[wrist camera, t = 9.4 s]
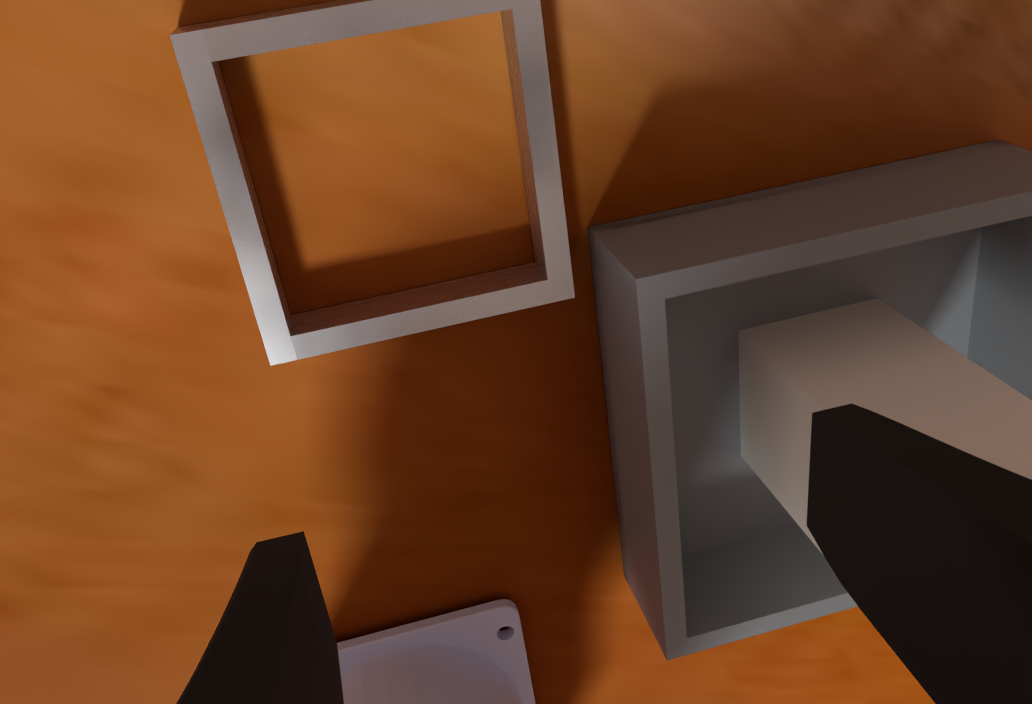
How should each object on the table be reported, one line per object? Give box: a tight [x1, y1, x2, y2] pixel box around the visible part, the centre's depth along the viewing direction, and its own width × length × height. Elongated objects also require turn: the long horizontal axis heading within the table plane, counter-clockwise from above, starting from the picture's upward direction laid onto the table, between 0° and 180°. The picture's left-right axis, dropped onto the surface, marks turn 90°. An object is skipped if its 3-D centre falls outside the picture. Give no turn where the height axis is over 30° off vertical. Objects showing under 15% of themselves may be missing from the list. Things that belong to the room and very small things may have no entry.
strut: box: [738, 298, 1032, 556], centre depth 21 cm, size 4×4×8 cm
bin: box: [588, 140, 1032, 660], centre depth 24 cm, size 11×11×4 cm
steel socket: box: [170, 0, 575, 366], centre depth 20 cm, size 7×7×1 cm
